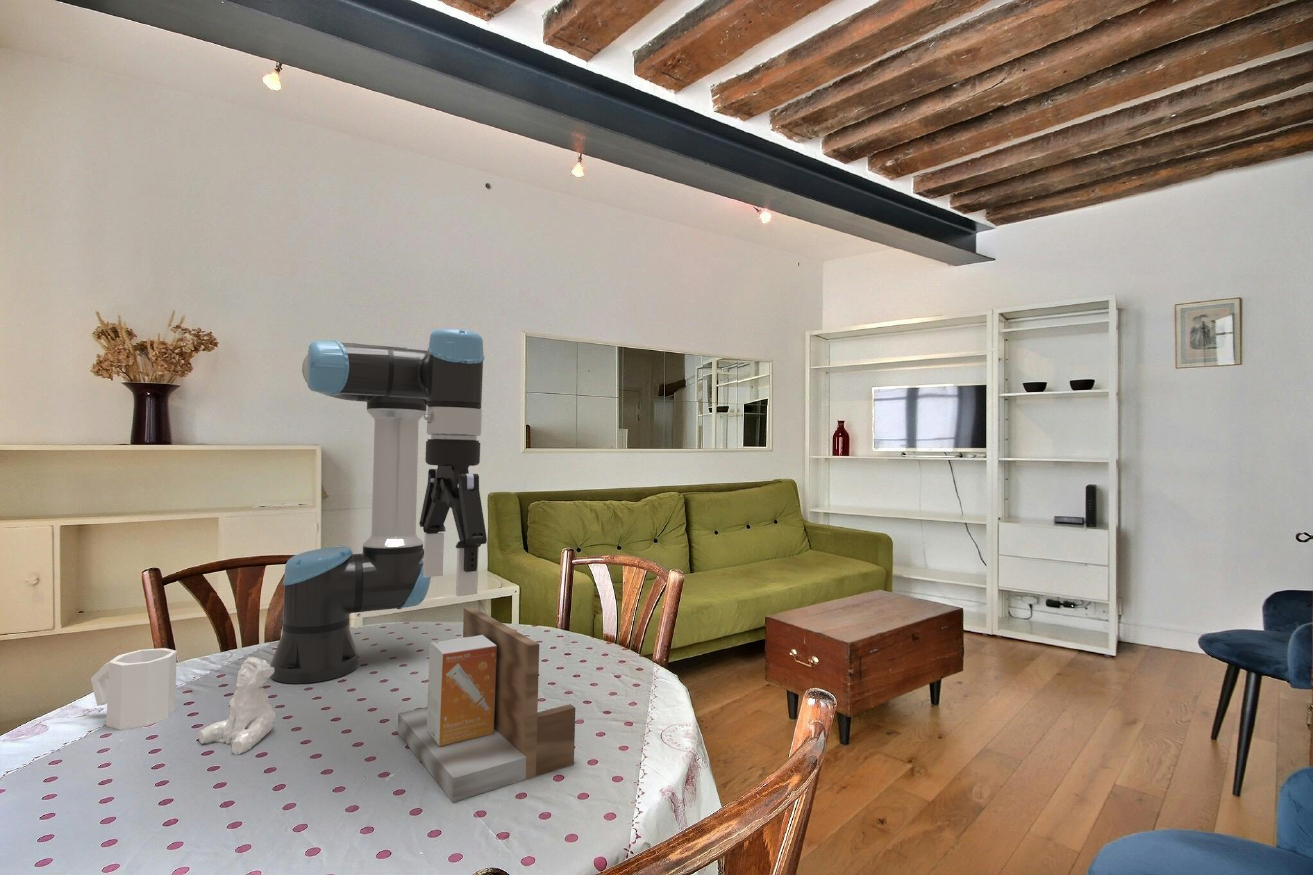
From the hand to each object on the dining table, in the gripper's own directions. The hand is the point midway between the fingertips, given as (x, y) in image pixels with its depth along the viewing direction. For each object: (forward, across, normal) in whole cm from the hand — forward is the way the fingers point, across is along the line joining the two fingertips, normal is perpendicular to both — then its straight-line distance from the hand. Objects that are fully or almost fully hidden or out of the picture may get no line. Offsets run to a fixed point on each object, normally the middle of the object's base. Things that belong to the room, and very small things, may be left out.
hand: (448, 585), depth 94 cm
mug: (+25, -41, -36) cm, 60 cm away
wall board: (+25, +1, +6) cm, 25 cm away
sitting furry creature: (+25, -23, -22) cm, 41 cm away
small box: (+22, 0, +2) cm, 22 cm away
